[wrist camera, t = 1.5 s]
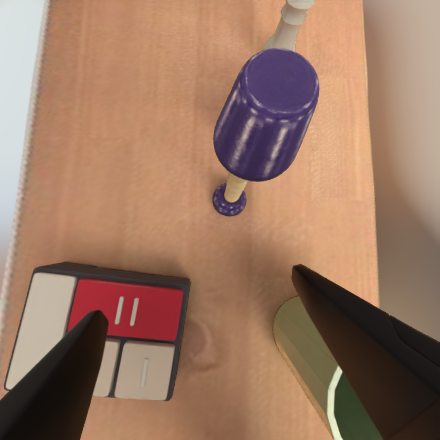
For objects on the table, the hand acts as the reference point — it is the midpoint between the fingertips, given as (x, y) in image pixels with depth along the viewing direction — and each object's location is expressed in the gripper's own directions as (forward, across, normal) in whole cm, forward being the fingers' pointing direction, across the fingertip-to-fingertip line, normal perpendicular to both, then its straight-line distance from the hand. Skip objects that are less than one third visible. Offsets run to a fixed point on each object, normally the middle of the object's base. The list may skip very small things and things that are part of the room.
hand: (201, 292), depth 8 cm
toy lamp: (+15, -4, +2) cm, 16 cm away
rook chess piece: (+25, -14, -12) cm, 32 cm away
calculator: (+9, +11, +12) cm, 18 cm away
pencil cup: (+5, -10, +16) cm, 20 cm away
